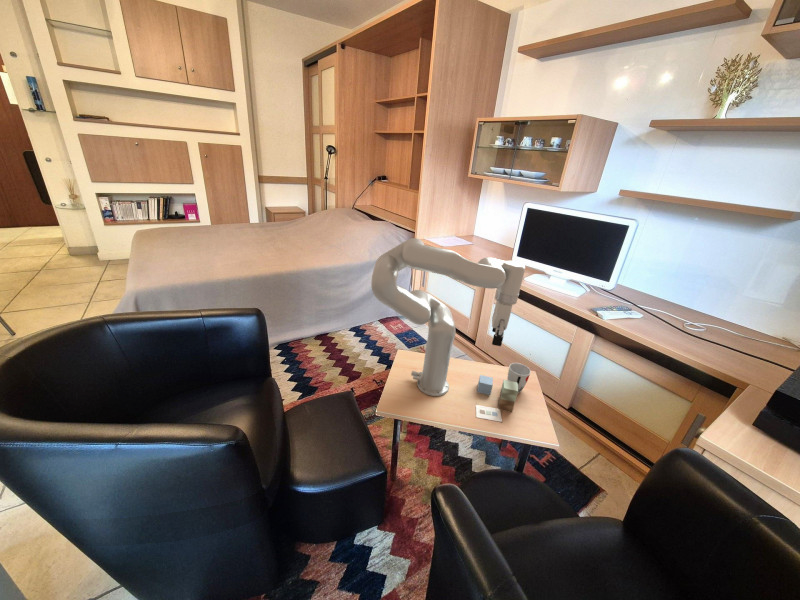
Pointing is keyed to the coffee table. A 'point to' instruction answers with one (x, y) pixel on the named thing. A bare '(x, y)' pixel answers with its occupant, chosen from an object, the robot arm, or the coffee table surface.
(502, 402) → the tower base
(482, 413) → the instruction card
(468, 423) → the coffee table surface
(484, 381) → the blue brick
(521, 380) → the cup
